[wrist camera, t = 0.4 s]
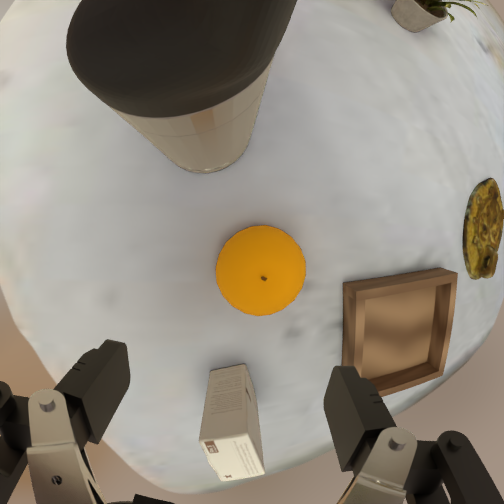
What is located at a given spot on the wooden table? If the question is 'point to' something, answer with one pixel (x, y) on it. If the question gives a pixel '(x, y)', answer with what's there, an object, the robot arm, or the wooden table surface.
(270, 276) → the orange
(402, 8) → the house plant
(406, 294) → the walnut box
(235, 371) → the skincare box
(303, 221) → the wooden table surface
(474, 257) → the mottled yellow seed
